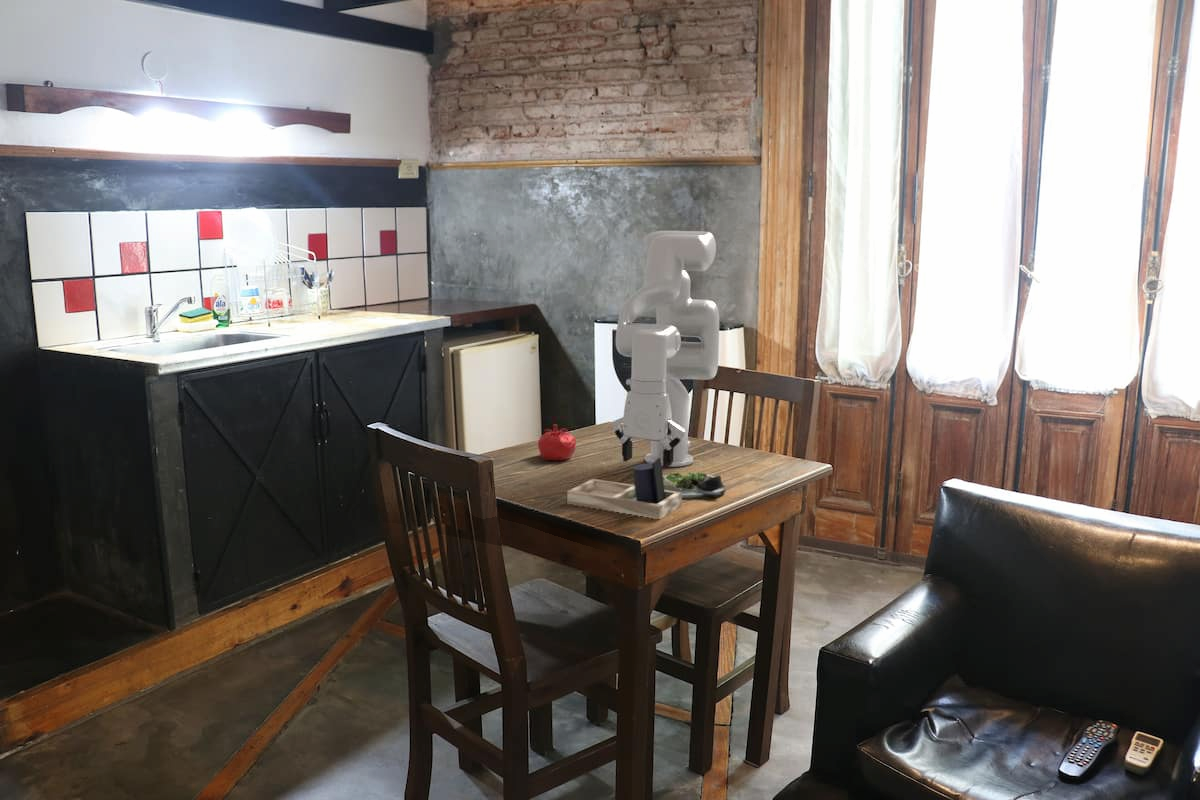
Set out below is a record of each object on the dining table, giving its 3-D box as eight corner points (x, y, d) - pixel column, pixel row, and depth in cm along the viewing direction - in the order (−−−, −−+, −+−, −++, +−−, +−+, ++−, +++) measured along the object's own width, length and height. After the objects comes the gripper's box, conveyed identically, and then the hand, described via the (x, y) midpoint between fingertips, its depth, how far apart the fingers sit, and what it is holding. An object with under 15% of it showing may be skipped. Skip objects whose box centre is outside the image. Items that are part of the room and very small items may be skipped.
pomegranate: (571, 464, 256) (572, 430, 254) (534, 462, 258) (534, 427, 256) (578, 454, 266) (579, 421, 264) (542, 452, 267) (542, 418, 265)
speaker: (674, 502, 219) (670, 457, 218) (659, 510, 215) (655, 463, 213) (646, 499, 224) (642, 455, 222) (631, 506, 220) (627, 461, 218)
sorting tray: (592, 490, 232) (592, 478, 232) (681, 505, 222) (681, 492, 221) (567, 504, 222) (567, 491, 221) (659, 519, 212) (659, 506, 211)
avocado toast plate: (647, 503, 225) (648, 483, 224) (637, 481, 242) (637, 463, 241) (731, 501, 227) (732, 482, 226) (715, 480, 244) (715, 462, 243)
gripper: (605, 385, 215) (604, 461, 219) (678, 394, 207) (676, 472, 211) (620, 379, 221) (619, 453, 225) (692, 387, 214) (690, 464, 217)
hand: (647, 462), depth 218 cm, fingers open, 9 cm apart
